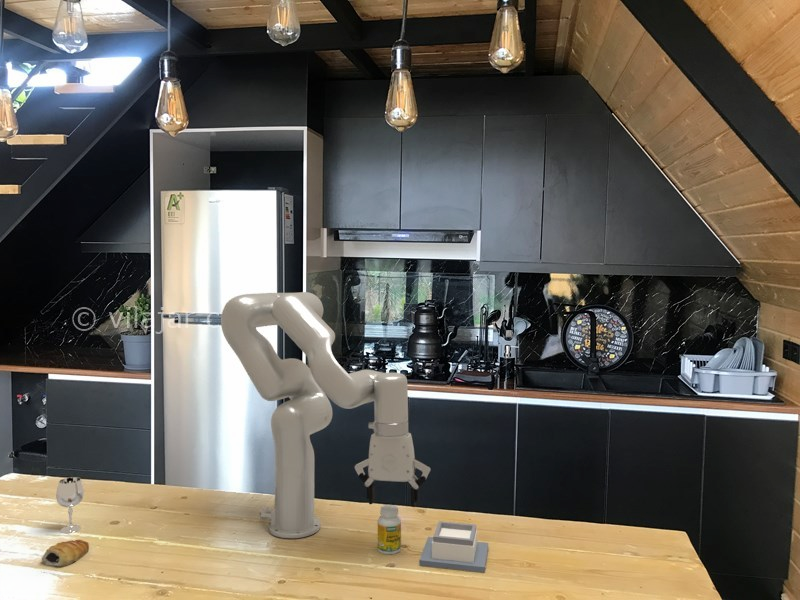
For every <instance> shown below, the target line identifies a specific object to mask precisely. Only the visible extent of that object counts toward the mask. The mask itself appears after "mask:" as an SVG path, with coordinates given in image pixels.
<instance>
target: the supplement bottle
mask: <svg viewBox="0 0 800 600" xmlns="http://www.w3.org/2000/svg"><path fill="white" fill-rule="evenodd" d="M379 513H380V515H379V517H378V518H377V551H379V552H380V553H381V554H384V555H394V554H397V553H399V552H400V550H401V549H402V519H401V517H400V516H399V508H398V506H396V505H392V504H390V505H389V504H387V505H383V506H381V507H380V512H379Z"/></svg>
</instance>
